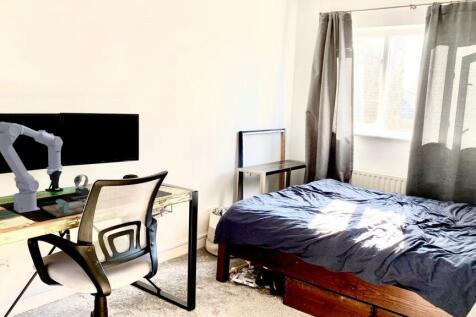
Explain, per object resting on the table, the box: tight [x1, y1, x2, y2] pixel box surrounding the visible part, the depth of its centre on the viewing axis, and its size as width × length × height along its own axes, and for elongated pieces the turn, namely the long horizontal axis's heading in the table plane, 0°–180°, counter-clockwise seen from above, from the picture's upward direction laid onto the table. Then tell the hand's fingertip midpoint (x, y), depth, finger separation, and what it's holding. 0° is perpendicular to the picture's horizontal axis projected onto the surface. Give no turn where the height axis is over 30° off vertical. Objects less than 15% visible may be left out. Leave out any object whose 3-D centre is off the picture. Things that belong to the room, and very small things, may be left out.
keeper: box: [55, 198, 69, 213], centre depth 200 cm, size 2×9×5 cm, turn 47°
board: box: [41, 199, 84, 218], centre depth 207 cm, size 21×17×1 cm
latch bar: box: [56, 198, 87, 211], centre depth 205 cm, size 16×4×3 cm, turn 142°
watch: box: [73, 173, 89, 196], centre depth 236 cm, size 6×8×11 cm
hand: (55, 185), depth 215 cm, fingers closed
